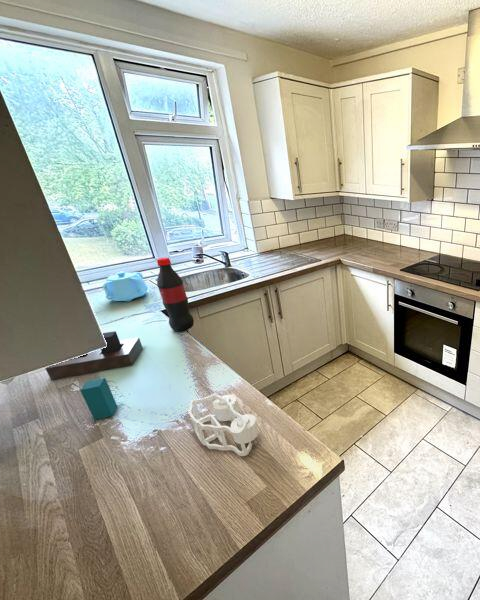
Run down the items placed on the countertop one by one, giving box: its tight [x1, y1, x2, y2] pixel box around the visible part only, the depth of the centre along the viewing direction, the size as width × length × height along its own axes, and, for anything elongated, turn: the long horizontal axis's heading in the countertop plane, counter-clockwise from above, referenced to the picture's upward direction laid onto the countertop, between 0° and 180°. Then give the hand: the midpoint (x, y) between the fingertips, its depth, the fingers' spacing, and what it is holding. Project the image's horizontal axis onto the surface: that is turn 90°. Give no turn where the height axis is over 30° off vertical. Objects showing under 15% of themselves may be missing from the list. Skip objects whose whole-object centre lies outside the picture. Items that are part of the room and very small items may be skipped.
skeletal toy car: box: [187, 393, 259, 457], centre depth 82 cm, size 20×11×7 cm, turn 48°
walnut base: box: [45, 336, 143, 381], centre depth 112 cm, size 21×12×4 cm, turn 113°
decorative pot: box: [102, 270, 148, 303], centre depth 163 cm, size 16×16×14 cm
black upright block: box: [101, 330, 122, 354], centre depth 112 cm, size 4×4×10 cm
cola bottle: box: [156, 257, 195, 332], centre depth 130 cm, size 8×8×30 cm
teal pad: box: [79, 377, 118, 421], centre depth 88 cm, size 4×4×10 cm
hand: (25, 369), depth 81 cm, fingers open, 8 cm apart
